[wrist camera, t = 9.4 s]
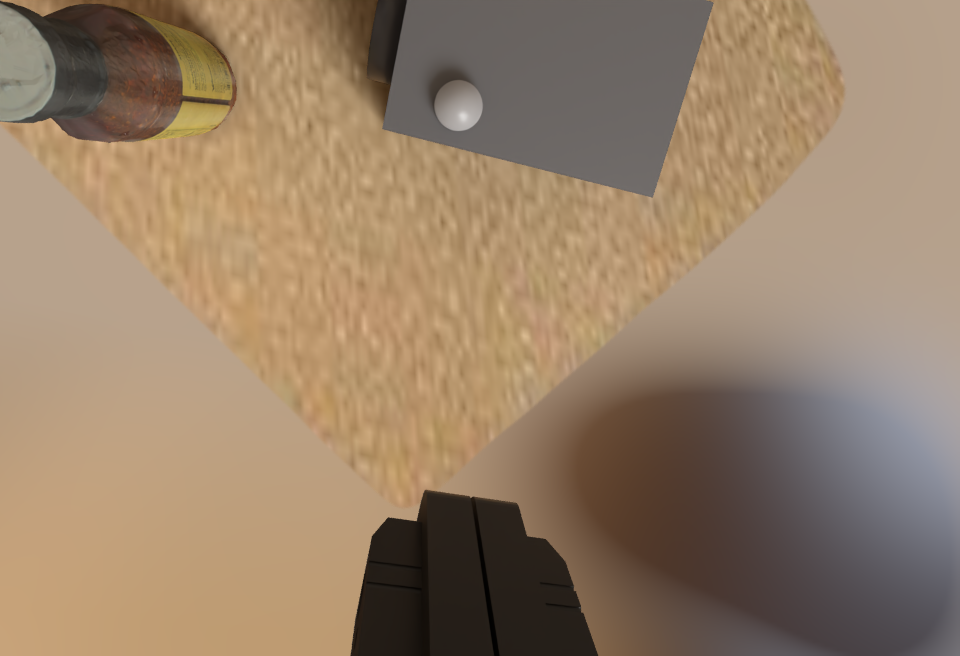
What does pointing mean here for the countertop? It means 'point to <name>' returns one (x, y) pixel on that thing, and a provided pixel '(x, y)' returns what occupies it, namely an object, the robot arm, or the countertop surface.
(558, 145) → the box
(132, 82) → the sauce bottle
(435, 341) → the countertop surface
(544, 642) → the robot arm
